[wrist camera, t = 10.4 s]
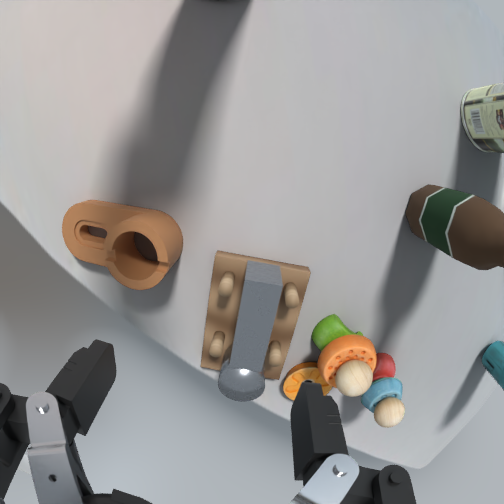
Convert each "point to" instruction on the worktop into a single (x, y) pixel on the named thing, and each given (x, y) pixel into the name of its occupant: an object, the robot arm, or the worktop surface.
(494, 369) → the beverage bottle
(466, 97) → the coffee can
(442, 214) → the beer bottle
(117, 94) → the worktop surface
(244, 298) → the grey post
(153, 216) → the bracket
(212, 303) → the rack
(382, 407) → the wooden stacking toy
